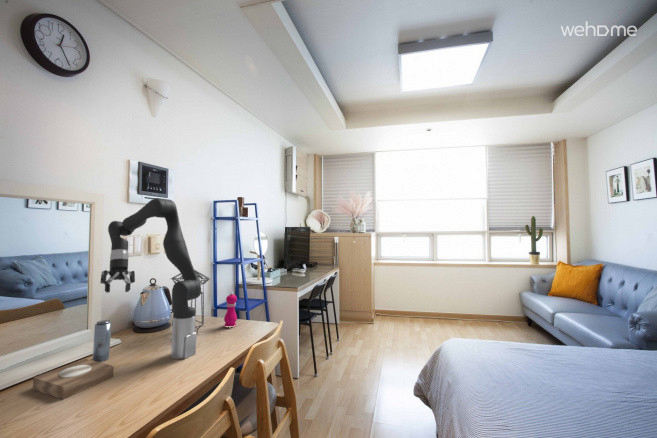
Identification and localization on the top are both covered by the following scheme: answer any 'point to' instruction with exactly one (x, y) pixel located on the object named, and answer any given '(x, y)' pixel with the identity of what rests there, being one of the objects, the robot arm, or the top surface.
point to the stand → (72, 378)
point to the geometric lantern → (195, 299)
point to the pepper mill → (230, 310)
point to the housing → (102, 341)
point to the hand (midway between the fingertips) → (117, 292)
